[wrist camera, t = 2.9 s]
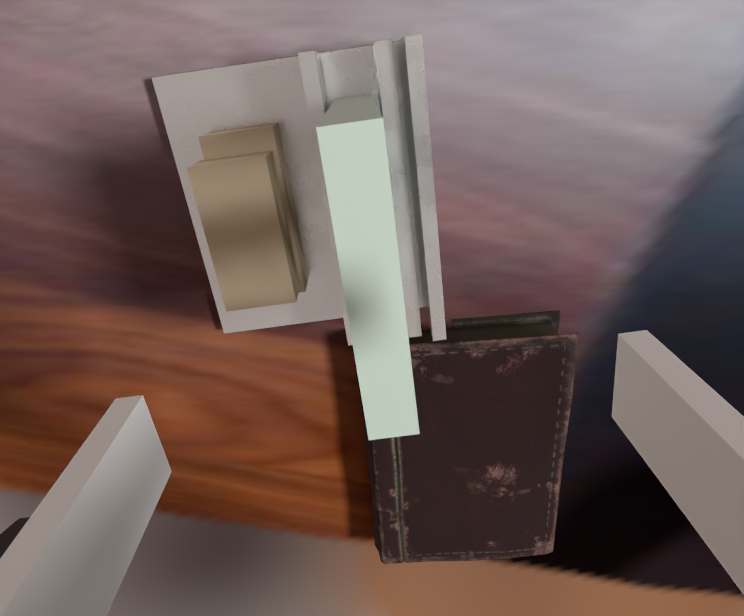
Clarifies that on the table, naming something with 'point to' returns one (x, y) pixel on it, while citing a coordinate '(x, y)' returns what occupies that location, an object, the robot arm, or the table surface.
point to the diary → (478, 443)
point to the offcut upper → (246, 229)
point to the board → (369, 262)
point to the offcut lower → (268, 140)
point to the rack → (302, 153)
